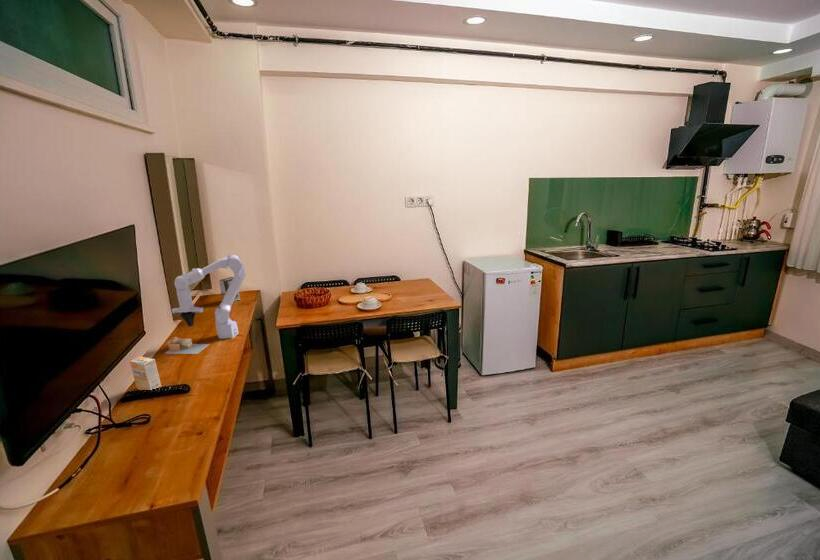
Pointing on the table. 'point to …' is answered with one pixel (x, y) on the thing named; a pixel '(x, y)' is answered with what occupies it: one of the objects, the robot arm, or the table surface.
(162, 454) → the table surface
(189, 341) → the beige rectangular block
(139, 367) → the supplement box
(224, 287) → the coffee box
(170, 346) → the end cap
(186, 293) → the robot arm
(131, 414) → the table surface
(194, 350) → the board
